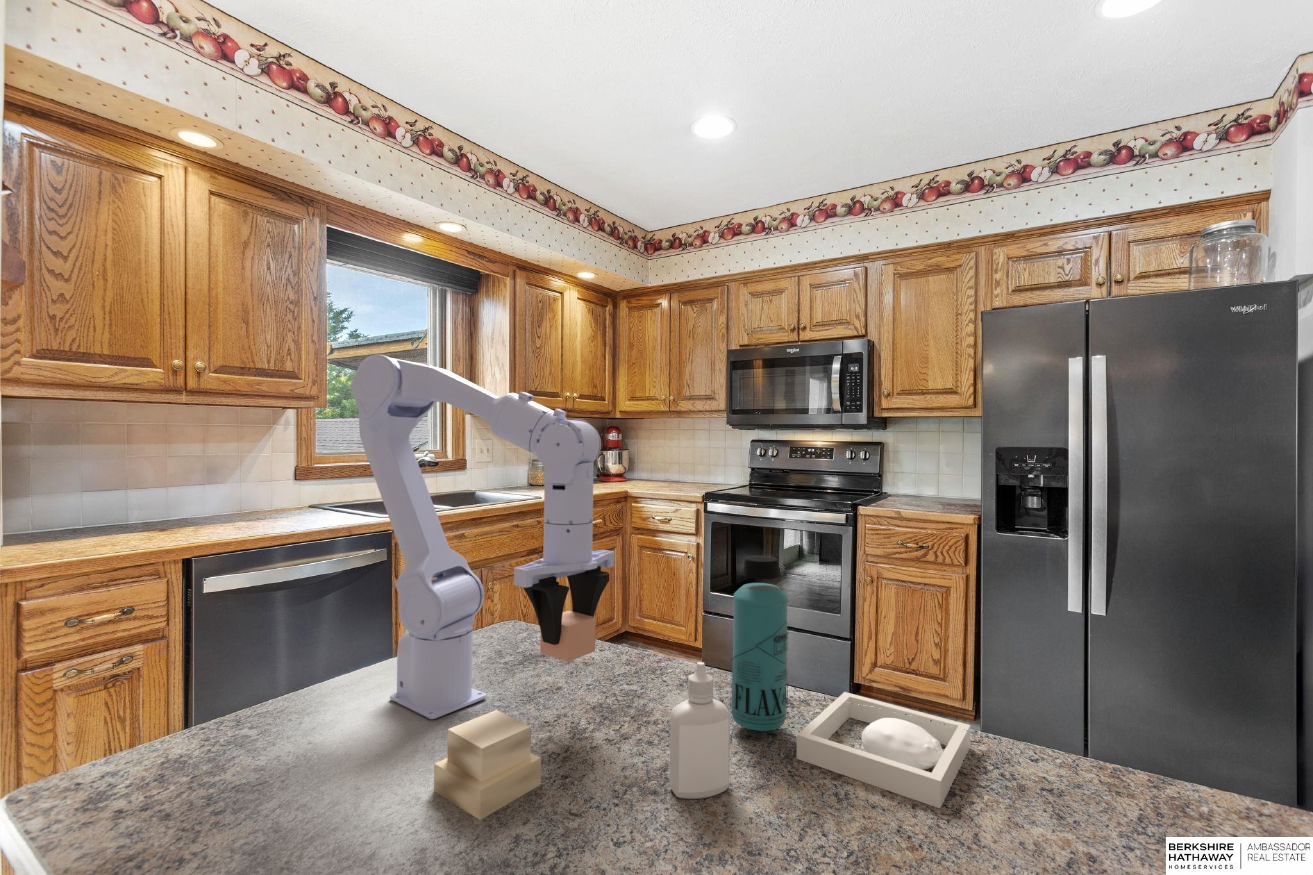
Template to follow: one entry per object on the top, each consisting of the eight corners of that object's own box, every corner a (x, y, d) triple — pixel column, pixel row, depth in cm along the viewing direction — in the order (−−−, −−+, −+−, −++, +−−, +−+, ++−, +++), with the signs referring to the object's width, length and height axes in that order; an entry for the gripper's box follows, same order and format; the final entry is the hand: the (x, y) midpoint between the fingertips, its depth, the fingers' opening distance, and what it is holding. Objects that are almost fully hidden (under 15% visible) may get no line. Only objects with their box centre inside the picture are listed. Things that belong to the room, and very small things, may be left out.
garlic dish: (796, 758, 64) (796, 734, 64) (844, 712, 75) (844, 691, 75) (940, 808, 56) (940, 781, 56) (970, 747, 67) (970, 725, 67)
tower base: (433, 795, 58) (434, 763, 58) (494, 764, 63) (495, 735, 63) (479, 824, 53) (480, 790, 53) (540, 788, 59) (541, 757, 59)
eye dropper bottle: (726, 806, 56) (728, 674, 56) (666, 797, 57) (667, 668, 57) (730, 780, 60) (732, 657, 60) (674, 773, 61) (675, 653, 61)
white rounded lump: (956, 766, 63) (956, 730, 63) (924, 790, 59) (925, 751, 59) (884, 737, 70) (884, 704, 70) (851, 757, 65) (851, 721, 65)
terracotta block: (540, 652, 72) (540, 618, 72) (567, 643, 75) (568, 610, 75) (567, 661, 69) (568, 626, 69) (594, 651, 72) (595, 617, 72)
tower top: (447, 760, 58) (447, 729, 58) (495, 739, 62) (496, 709, 62) (481, 781, 55) (482, 748, 55) (530, 757, 59) (530, 726, 59)
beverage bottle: (723, 738, 68) (725, 559, 68) (738, 713, 75) (740, 549, 75) (781, 750, 66) (784, 564, 66) (792, 723, 72) (794, 554, 72)
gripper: (545, 532, 64) (544, 662, 64) (633, 518, 75) (632, 628, 75) (502, 525, 68) (500, 647, 68) (591, 513, 80) (590, 618, 80)
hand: (566, 637), depth 72 cm, fingers closed on terracotta block, 4 cm apart
